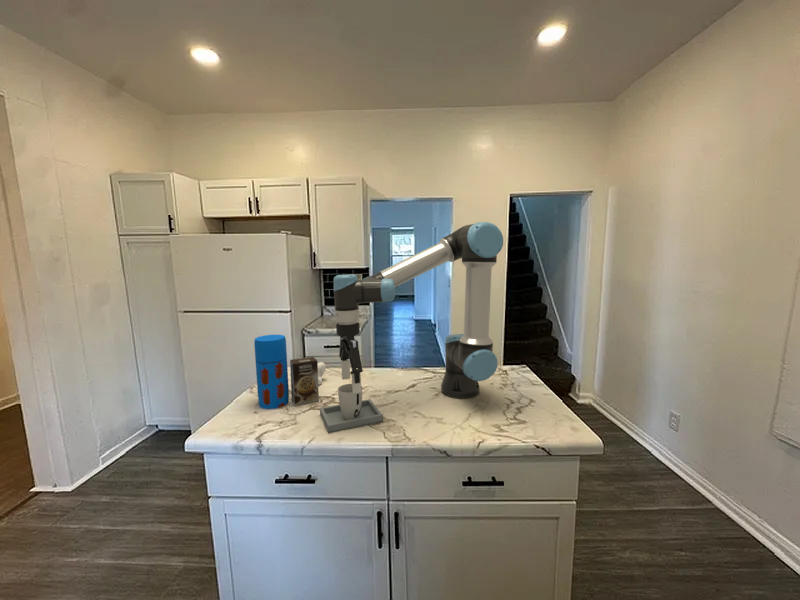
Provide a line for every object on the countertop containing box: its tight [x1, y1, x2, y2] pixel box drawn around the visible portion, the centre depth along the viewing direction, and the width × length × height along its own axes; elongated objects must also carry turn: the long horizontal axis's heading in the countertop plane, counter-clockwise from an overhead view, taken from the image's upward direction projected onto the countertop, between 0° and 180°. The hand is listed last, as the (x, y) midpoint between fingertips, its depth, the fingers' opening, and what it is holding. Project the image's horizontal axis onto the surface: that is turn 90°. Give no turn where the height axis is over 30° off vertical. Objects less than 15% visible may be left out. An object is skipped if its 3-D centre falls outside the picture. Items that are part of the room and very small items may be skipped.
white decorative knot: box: [317, 361, 327, 386], centre depth 152 cm, size 11×12×9 cm
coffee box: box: [289, 356, 320, 407], centre depth 132 cm, size 9×6×16 cm
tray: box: [319, 398, 384, 434], centre depth 119 cm, size 18×14×2 cm
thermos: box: [254, 334, 290, 410], centre depth 130 cm, size 11×11×25 cm
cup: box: [337, 383, 363, 420], centre depth 118 cm, size 8×8×10 cm
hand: (351, 385), depth 117 cm, fingers open, 13 cm apart
